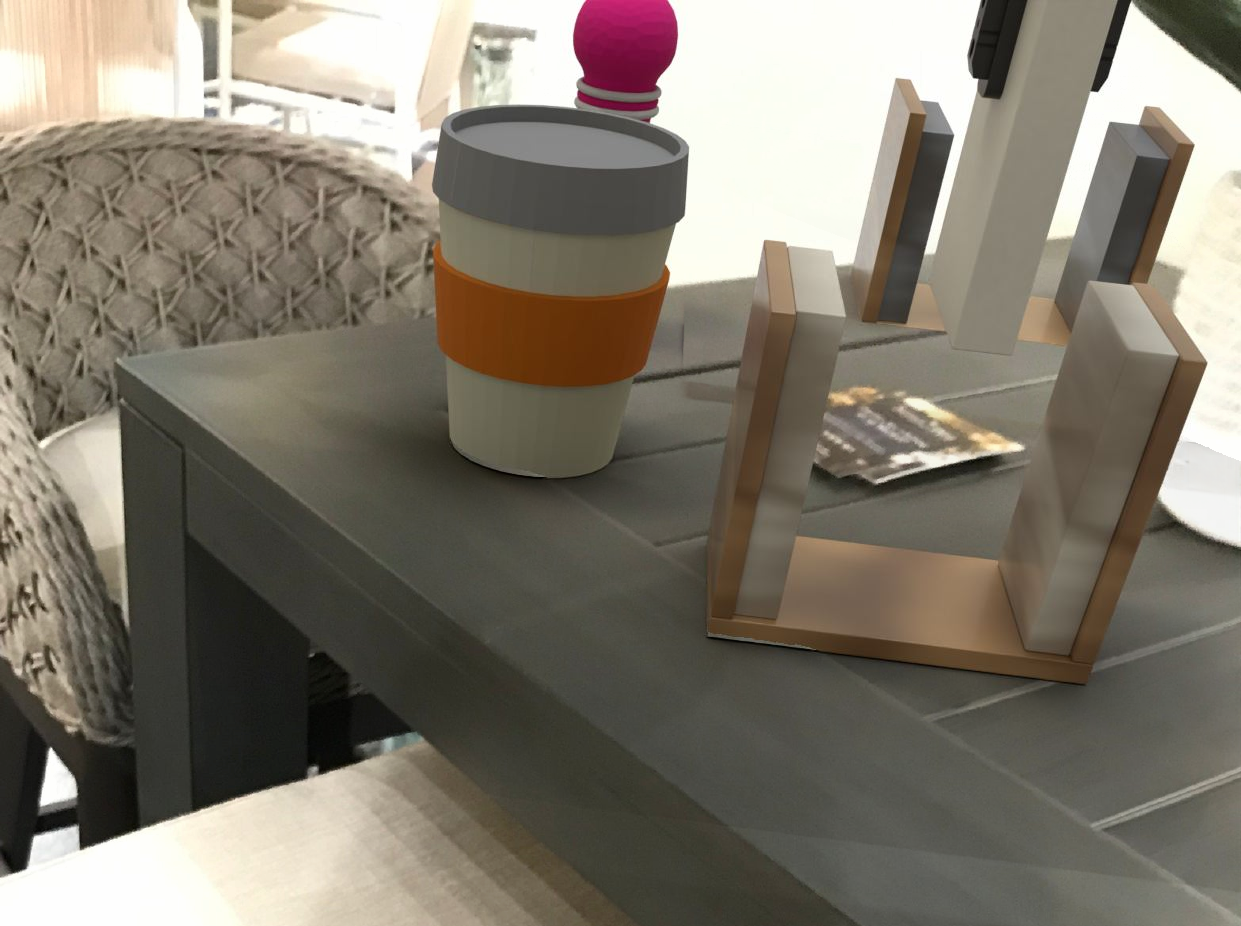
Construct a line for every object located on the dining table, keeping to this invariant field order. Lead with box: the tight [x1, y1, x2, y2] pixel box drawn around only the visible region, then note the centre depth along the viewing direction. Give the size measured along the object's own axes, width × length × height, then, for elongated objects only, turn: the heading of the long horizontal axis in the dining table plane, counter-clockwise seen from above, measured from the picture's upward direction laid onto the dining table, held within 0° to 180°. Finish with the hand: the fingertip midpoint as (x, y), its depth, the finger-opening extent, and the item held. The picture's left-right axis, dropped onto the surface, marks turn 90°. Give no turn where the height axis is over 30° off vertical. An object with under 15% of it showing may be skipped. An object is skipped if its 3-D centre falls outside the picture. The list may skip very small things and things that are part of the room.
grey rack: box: [850, 77, 1196, 347], centre depth 105 cm, size 17×10×13 cm, turn 83°
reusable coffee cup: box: [431, 104, 690, 479], centre depth 83 cm, size 13×13×15 cm
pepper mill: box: [572, 0, 679, 123], centre depth 97 cm, size 7×7×20 cm
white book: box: [928, 0, 1117, 357], centre depth 63 cm, size 2×9×13 cm, turn 173°
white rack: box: [705, 239, 1208, 685], centre depth 71 cm, size 17×10×14 cm, turn 83°
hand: (1029, 96), depth 62 cm, fingers closed on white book, 2 cm apart
